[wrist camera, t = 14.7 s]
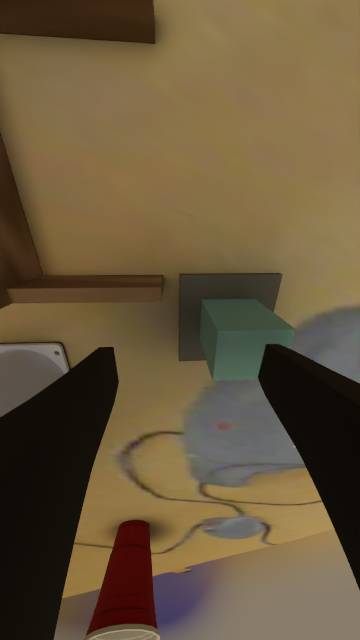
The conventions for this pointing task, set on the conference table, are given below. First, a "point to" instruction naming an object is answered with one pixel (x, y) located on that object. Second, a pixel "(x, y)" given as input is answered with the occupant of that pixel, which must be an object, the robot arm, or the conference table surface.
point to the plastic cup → (127, 589)
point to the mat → (217, 288)
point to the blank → (239, 336)
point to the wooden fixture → (3, 200)
